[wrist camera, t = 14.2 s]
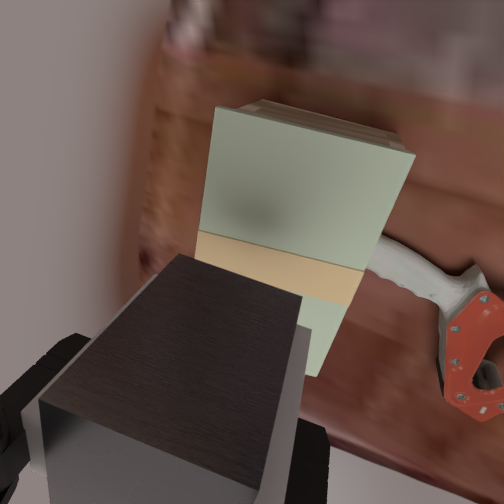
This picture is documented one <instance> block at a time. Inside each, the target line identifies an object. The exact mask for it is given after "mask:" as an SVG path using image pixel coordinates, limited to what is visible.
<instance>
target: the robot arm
mask: <svg viewBox="0 0 504 504" xmlns="http://www.w3.org/2000/svg"><path fill="white" fill-rule="evenodd" d="M156 276H157V274H154V275H153V276H152V277H151V278H150V279H149V280H148V282H147V283H146V284H145V285H144V286H143V287H142V288H141V289H140V290H139V291H138V292H137V293H136V294H135V295H134V296H133V297H132V298H131V299H130V300H129V301H128V302H127V303H126V304H125V305H124V306H123V307H122V308H121V309H120V310H119V311H118V312H117V313H116V314H115V315H114V316H113V317H112V319H111V320H110V321H109V322H108V323H107V324H106V325H105V326H104V327H103V328H102V329H101V330H100V331H99V332H98V333H97V334H96V335H95V336H94V337H93V338H92V339H91V338H88V337H86V336H83V335H80V334H78V333H74V334H72V335H70V336H68V337H66V338H64V339H62V340H60V341H59V342H58V343H57V344H56V345H54V346H53V347H52V348H51V349H50V350H49V351H48V352H47V353H46V355H44V356H42V357H41V358H40V359H39V360H38V361H37V362H36V364H35V365H33V366H32V367H31V368H30V369H28V371H26V372H25V373H24V374H23V375H22V376H21V377H20V378H19V379H18V380H16V381H15V382H14V383H13V384H12V385H11V386H10V387H9V388H8V389H7V390H6V391H4V392H3V394H1V395H0V504H8V502H9V500H10V498H11V497H12V495H13V493H14V491H15V489H16V486H17V483H18V480H19V475H18V474H19V473H20V472H21V471H22V469H23V468H24V467H25V466H26V465H27V463H28V462H29V461H30V467H31V471H32V472H34V473H36V474H39V475H41V476H43V477H45V478H47V472H46V463H45V455H44V446H43V438H42V429H41V421H40V412H39V404H38V398H39V397H40V396H41V395H42V394H43V393H44V392H45V391H46V390H47V389H48V388H49V387H50V386H51V385H52V384H53V383H54V382H55V381H56V380H57V379H58V378H59V377H60V376H61V375H62V374H63V373H64V371H65V370H66V369H67V368H68V367H69V366H70V365H71V364H72V363H73V362H74V361H75V360H76V359H77V358H78V357H79V356H80V355H81V354H82V353H83V352H84V351H85V350H86V349H87V348H88V347H89V346H90V345H91V344H92V343H93V342H94V340H95V339H96V338H97V337H98V336H99V335H100V334H101V333H102V332H103V331H104V330H105V329H106V328H107V327H108V326H109V325H110V324H111V323H112V322H113V321H114V320H115V319H116V318H117V317H118V316H119V315H120V314H121V313H122V312H123V311H124V309H125V308H126V307H127V306H128V305H129V304H130V303H131V302H132V301H133V300H134V299H135V298H136V297H137V296H138V295H139V294H140V293H141V292H142V291H143V290H144V289H145V288H146V287H147V286H148V285H149V284H150V283H151V282H152V281H153V280H154V278H155V277H156ZM311 333H312V329H309V328H307V327H304V326H301V325H298V324H297V325H296V329H295V334H294V338H293V343H292V347H291V351H290V356H289V360H288V365H287V369H286V374H285V378H284V383H283V387H282V392H281V396H280V401H279V405H278V410H277V414H276V418H275V423H274V427H273V432H272V436H271V441H270V445H269V450H268V454H267V459H266V463H265V468H264V472H263V477H262V481H261V485H260V490H259V493H258V495H257V497H256V499H255V501H254V503H253V504H327V489H328V482H327V481H328V473H329V467H328V465H329V457H330V443H329V440H328V437H327V433H326V430H325V428H324V427H322V426H319V425H317V424H314V423H311V422H309V421H306V420H304V419H301V418H298V414H299V408H300V401H301V395H302V389H303V383H304V377H305V370H306V364H307V358H308V352H309V346H310V339H311Z"/></svg>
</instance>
